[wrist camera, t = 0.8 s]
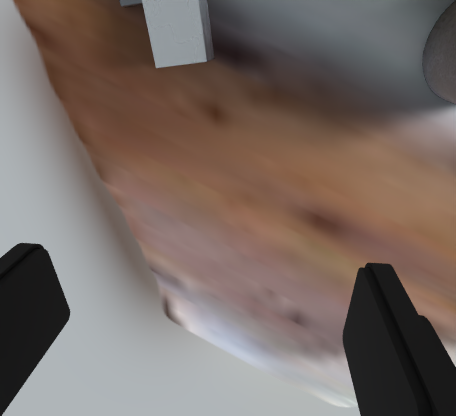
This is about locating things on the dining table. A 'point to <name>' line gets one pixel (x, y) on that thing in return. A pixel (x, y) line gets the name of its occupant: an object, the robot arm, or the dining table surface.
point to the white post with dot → (179, 31)
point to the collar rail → (130, 3)
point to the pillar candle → (442, 56)
